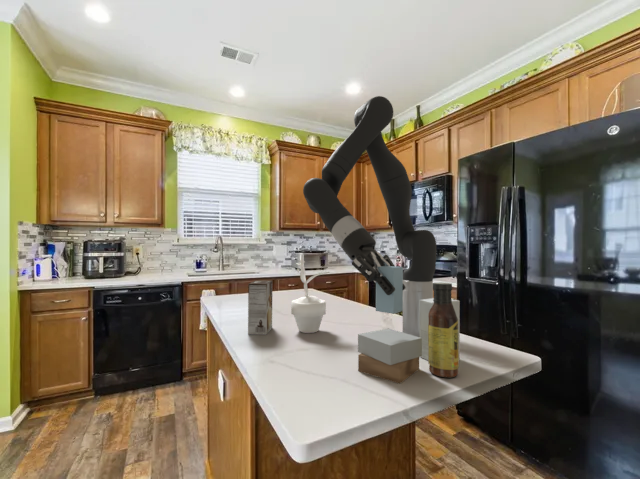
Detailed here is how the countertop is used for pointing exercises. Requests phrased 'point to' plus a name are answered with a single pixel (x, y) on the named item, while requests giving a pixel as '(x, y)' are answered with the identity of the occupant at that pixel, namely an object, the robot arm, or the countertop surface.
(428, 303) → the skincare box
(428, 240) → the robot arm
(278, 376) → the countertop surface
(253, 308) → the coffee box
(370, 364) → the block bottom
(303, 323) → the potted plant
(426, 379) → the countertop surface
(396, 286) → the blue block
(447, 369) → the sauce bottle
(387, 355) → the block top
